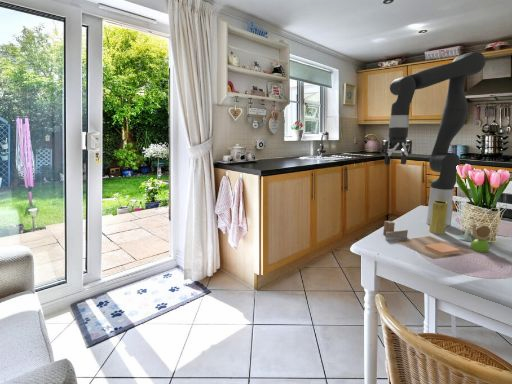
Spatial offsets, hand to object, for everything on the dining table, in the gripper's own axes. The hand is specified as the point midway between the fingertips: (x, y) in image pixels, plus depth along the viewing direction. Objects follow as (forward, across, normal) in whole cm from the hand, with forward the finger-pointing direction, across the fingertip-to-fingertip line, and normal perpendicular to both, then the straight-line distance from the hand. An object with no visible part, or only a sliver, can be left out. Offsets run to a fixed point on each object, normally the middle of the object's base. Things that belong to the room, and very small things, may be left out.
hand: (395, 164), depth 138 cm
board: (+28, +6, +28) cm, 40 cm away
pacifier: (+28, -13, +25) cm, 40 cm away
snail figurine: (+28, -7, +36) cm, 46 cm away
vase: (+28, -10, +16) cm, 34 cm away
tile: (+26, +6, +29) cm, 39 cm away
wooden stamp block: (+28, +12, +14) cm, 34 cm away
